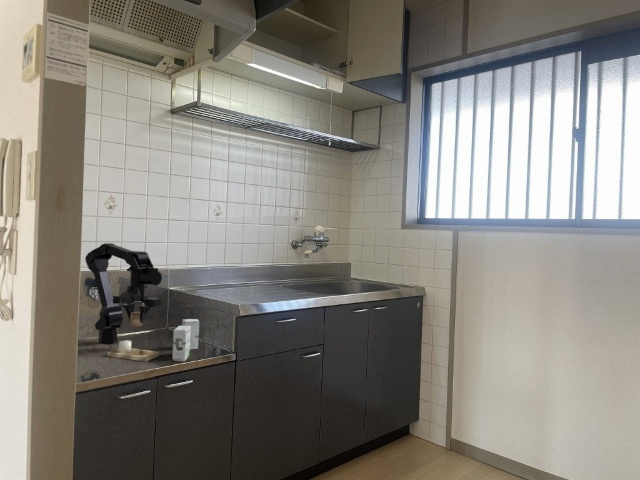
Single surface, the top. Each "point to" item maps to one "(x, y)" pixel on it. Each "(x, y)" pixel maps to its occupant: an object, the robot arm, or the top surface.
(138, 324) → the brown egg
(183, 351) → the ink box
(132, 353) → the egg tray
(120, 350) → the cream egg
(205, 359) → the top surface
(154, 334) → the top surface
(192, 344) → the skincare box
